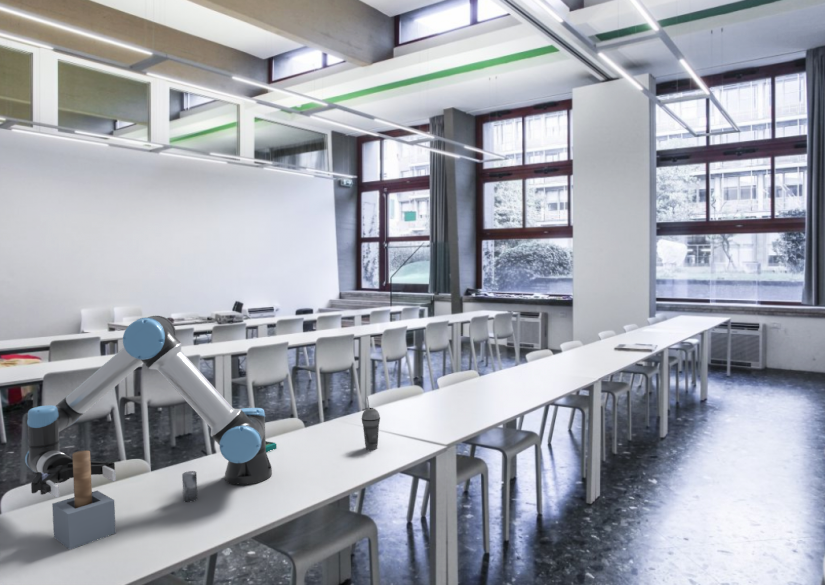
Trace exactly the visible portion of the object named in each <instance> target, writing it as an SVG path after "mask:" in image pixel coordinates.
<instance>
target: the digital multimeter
mask: <svg viewBox="0 0 825 585" xmlns="http://www.w3.org/2000/svg"><path fill="white" fill-rule="evenodd" d="M277 448H278V446H277V443H276V442H273V441H266V453H268V451H269V452H271V451H270V450H272V451H274V450H277ZM273 449H274V450H273Z"/></svg>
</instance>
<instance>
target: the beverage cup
mask: <svg viewBox="0 0 825 585" xmlns="http://www.w3.org/2000/svg"><path fill="white" fill-rule="evenodd" d="M366 402H367V408H365V409H364V410H363V412H362V415H361V423H362V428H363V430H362V431H363V436H364V445H365V450H368V449H369V450H370V451H373V450H377V449H378V446H379V445H378V444H379V429H380V428H379V427H380V420H381V416H380V412H379V411H378V409H376V408H374V407H370V402H369V397H368V396H366Z"/></svg>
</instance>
